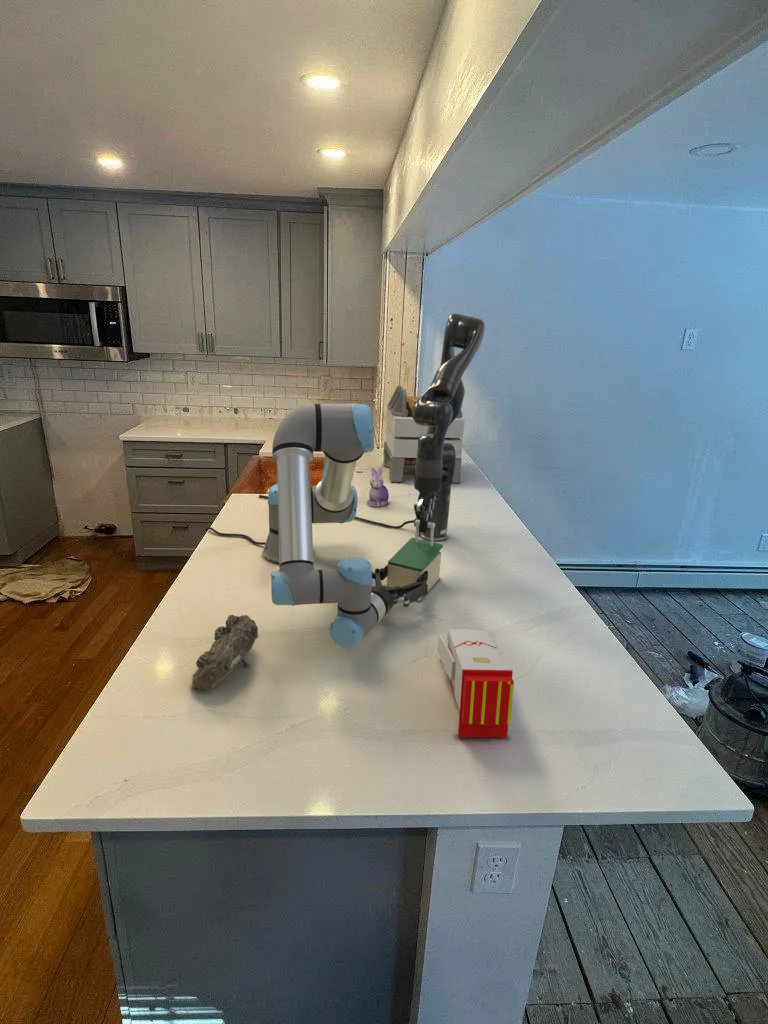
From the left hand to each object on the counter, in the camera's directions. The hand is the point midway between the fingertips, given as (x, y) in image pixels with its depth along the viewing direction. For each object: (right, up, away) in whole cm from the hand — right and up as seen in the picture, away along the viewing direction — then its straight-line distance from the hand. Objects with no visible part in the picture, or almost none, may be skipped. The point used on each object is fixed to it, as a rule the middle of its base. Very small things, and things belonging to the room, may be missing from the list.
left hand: (408, 571), depth 157 cm
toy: (+11, -21, -38) cm, 45 cm away
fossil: (-41, -17, -33) cm, 55 cm away
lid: (+2, +4, +3) cm, 6 cm away
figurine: (-9, +20, +73) cm, 76 cm away
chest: (+2, -5, +6) cm, 8 cm away
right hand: (+5, +11, +6) cm, 13 cm away
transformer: (+10, +35, +118) cm, 124 cm away
